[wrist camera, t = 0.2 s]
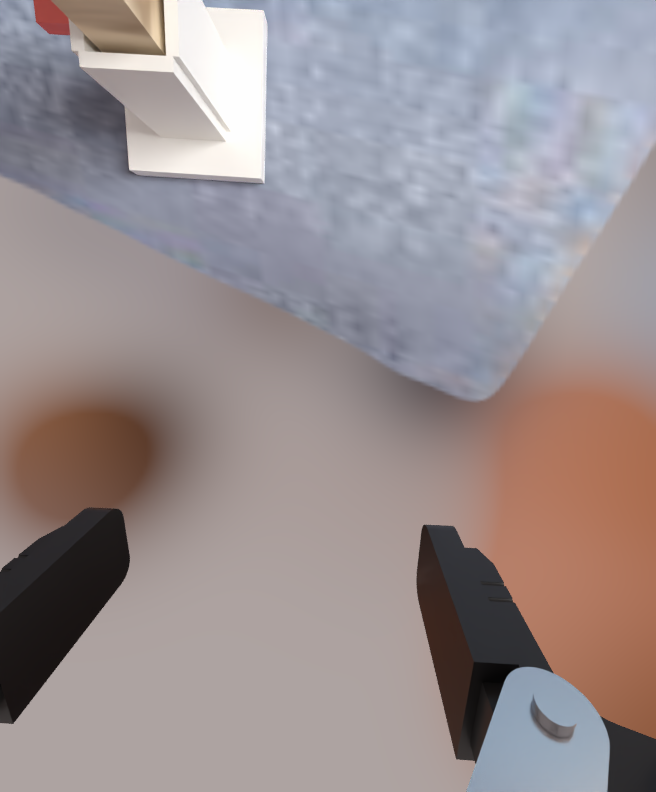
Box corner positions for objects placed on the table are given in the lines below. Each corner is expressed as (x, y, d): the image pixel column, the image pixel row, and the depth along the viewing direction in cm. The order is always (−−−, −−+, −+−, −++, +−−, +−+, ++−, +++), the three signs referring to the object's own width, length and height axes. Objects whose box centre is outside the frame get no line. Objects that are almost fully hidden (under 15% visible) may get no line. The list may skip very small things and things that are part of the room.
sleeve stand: (127, 16, 30) (3, -144, 19) (267, 24, 30) (222, -136, 19) (138, 175, 34) (37, 115, 23) (264, 183, 33) (224, 127, 22)
